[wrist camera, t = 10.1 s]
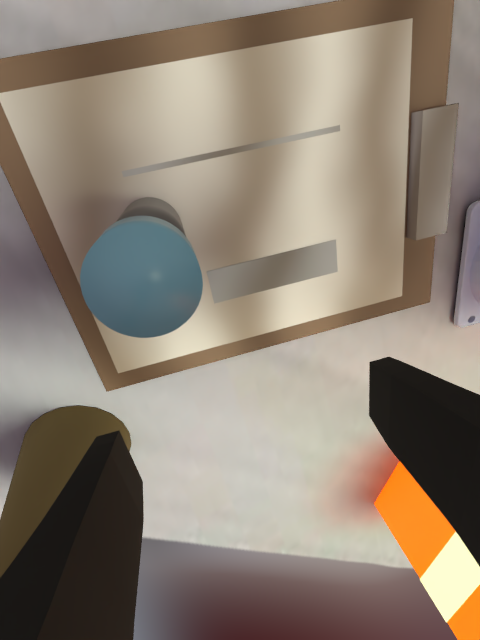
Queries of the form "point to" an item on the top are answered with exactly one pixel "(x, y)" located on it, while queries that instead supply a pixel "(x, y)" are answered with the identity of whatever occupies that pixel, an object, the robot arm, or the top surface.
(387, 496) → the orange juice
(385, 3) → the clipboard
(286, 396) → the top surface
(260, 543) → the top surface
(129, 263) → the marker
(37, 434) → the cork
